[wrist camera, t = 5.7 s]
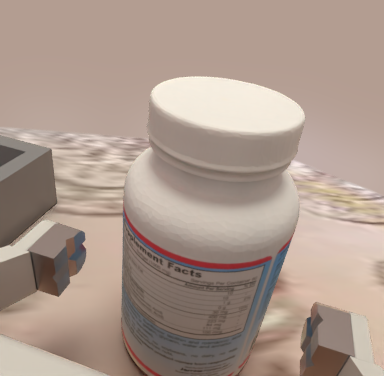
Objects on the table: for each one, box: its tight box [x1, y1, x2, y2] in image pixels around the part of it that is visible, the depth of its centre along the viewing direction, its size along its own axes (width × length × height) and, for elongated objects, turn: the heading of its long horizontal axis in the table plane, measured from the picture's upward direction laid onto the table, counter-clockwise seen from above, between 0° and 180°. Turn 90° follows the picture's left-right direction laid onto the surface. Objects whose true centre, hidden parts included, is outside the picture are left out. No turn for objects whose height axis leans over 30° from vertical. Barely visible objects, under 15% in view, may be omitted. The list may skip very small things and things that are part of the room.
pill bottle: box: [121, 77, 305, 376], centre depth 13 cm, size 6×6×11 cm
